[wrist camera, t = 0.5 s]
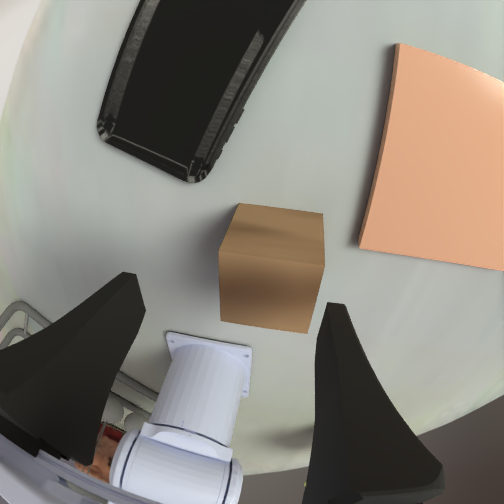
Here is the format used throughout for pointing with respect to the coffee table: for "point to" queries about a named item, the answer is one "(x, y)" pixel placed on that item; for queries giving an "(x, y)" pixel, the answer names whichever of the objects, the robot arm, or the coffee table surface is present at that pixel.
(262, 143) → the coffee table surface
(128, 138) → the phone
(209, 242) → the coffee table surface
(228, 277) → the walnut cube
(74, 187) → the coffee table surface
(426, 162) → the terracotta tile
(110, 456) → the decorative planter
